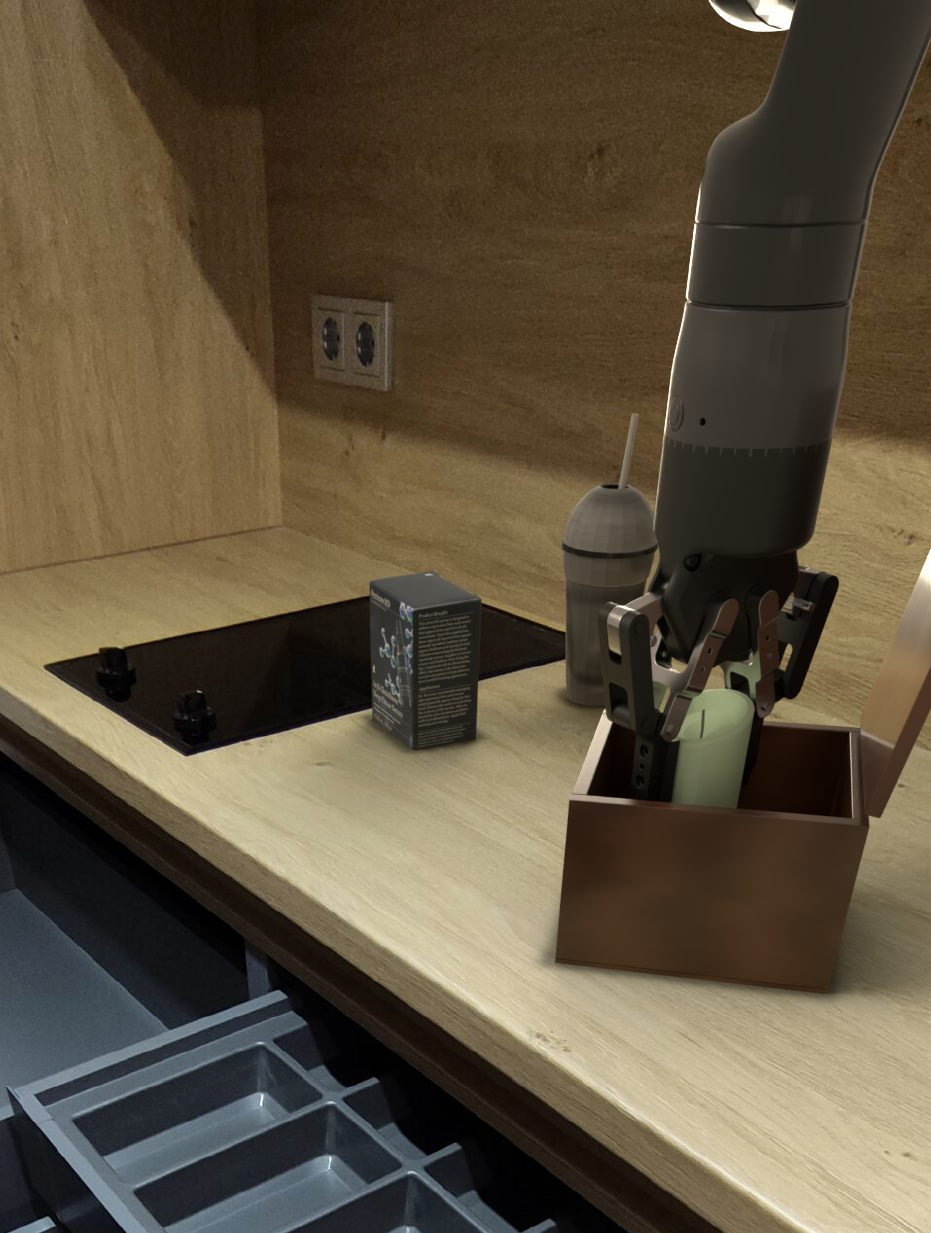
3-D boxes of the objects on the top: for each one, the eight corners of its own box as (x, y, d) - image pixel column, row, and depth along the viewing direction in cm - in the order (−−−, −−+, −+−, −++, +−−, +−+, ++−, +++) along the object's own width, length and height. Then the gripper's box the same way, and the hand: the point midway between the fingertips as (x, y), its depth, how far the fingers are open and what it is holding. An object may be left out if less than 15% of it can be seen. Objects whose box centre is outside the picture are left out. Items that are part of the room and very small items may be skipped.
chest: (553, 971, 69) (569, 799, 63) (587, 866, 79) (604, 708, 73) (824, 1002, 66) (869, 826, 60) (825, 890, 76) (864, 727, 70)
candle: (684, 879, 67) (709, 724, 62) (619, 848, 70) (637, 698, 65) (747, 854, 69) (776, 703, 64) (681, 825, 73) (704, 678, 67)
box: (370, 725, 99) (367, 578, 92) (434, 713, 100) (436, 569, 93) (411, 758, 93) (411, 606, 86) (478, 746, 95) (484, 595, 88)
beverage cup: (588, 682, 105) (614, 400, 92) (657, 702, 101) (695, 410, 88) (531, 703, 102) (549, 413, 88) (600, 725, 98) (630, 424, 84)
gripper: (680, 456, 51) (630, 849, 63) (924, 420, 56) (837, 789, 68) (571, 430, 56) (544, 798, 68) (805, 399, 61) (743, 746, 73)
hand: (691, 792), depth 68 cm, fingers closed on candle, 5 cm apart
